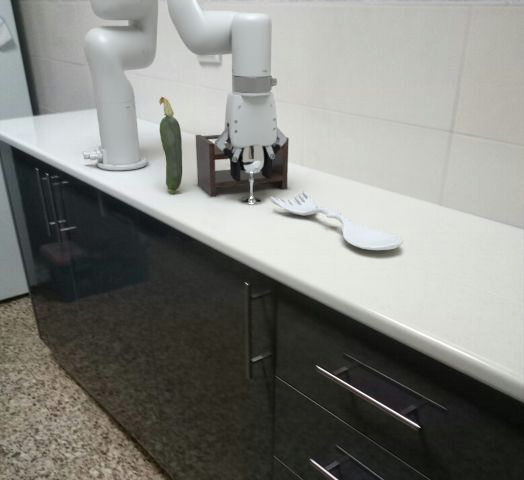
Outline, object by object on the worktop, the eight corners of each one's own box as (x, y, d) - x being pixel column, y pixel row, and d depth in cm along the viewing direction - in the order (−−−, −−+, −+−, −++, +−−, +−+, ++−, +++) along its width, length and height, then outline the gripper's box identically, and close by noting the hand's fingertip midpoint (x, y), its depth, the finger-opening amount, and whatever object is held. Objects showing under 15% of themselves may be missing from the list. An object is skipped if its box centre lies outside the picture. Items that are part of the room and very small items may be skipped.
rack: (210, 196, 128) (209, 143, 122) (197, 185, 135) (195, 135, 130) (287, 188, 134) (288, 138, 128) (270, 178, 142) (271, 129, 136)
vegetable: (187, 192, 130) (182, 96, 120) (179, 197, 127) (172, 99, 116) (169, 190, 131) (163, 94, 121) (160, 195, 128) (153, 97, 118)
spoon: (303, 204, 123) (304, 188, 121) (412, 253, 100) (415, 233, 98) (268, 211, 119) (268, 194, 117) (373, 263, 96) (375, 243, 94)
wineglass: (261, 205, 122) (262, 146, 116) (235, 204, 123) (234, 145, 117) (267, 198, 127) (267, 141, 121) (241, 196, 128) (240, 139, 122)
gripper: (283, 82, 119) (281, 170, 128) (203, 85, 114) (206, 177, 123) (299, 86, 113) (295, 179, 123) (215, 89, 108) (218, 187, 117)
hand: (251, 177), depth 123 cm, fingers open, 6 cm apart
